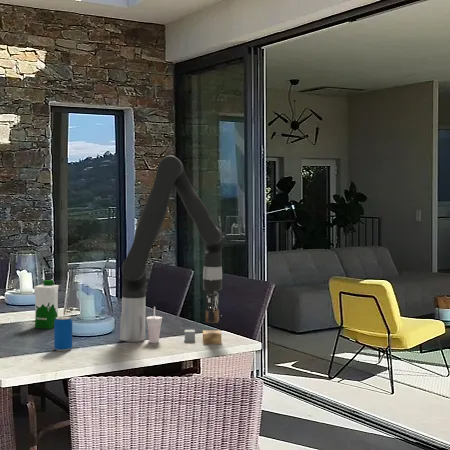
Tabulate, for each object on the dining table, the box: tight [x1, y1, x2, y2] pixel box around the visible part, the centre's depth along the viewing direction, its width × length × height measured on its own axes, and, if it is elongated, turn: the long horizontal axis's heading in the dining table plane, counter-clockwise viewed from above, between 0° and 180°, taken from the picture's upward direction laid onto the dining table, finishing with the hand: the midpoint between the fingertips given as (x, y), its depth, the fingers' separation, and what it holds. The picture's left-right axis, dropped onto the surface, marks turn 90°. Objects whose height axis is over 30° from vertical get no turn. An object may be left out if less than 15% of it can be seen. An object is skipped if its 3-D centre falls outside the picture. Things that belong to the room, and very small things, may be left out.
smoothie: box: [145, 306, 163, 344], centre depth 262 cm, size 6×6×14 cm
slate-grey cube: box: [184, 329, 196, 343], centre depth 266 cm, size 4×4×4 cm
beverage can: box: [53, 315, 73, 352], centre depth 248 cm, size 6×6×12 cm
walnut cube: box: [205, 308, 220, 324], centre depth 264 cm, size 4×4×4 cm
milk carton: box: [33, 279, 59, 330], centre depth 288 cm, size 9×9×20 cm
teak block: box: [202, 329, 222, 345], centre depth 264 cm, size 7×7×4 cm
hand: (212, 320), depth 264 cm, fingers closed on walnut cube, 4 cm apart
